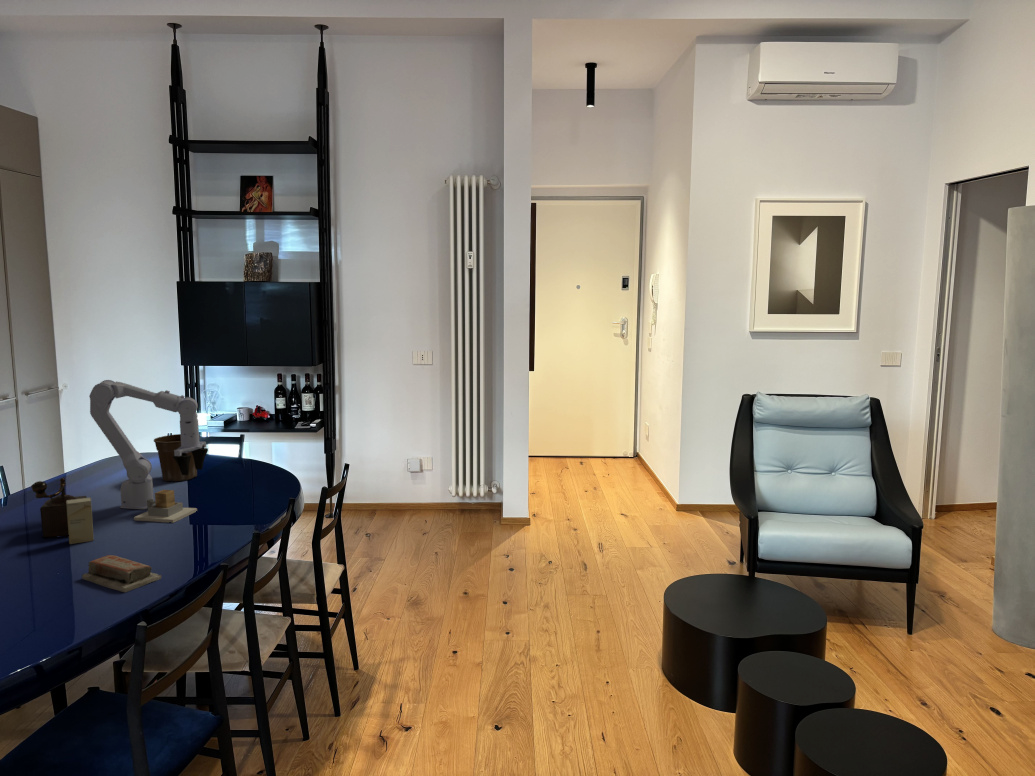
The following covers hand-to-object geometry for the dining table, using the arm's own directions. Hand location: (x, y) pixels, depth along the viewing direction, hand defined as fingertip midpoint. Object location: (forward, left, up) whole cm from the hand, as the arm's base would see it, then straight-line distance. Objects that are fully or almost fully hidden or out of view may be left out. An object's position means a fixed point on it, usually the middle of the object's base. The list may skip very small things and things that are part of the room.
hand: (192, 472), depth 244 cm
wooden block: (+1, -16, -9) cm, 19 cm away
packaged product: (+24, -64, -11) cm, 69 cm away
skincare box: (-8, -41, -11) cm, 43 cm away
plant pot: (-25, +27, -11) cm, 38 cm away
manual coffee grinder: (-18, -37, -11) cm, 43 cm away
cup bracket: (+1, -16, -10) cm, 19 cm away
